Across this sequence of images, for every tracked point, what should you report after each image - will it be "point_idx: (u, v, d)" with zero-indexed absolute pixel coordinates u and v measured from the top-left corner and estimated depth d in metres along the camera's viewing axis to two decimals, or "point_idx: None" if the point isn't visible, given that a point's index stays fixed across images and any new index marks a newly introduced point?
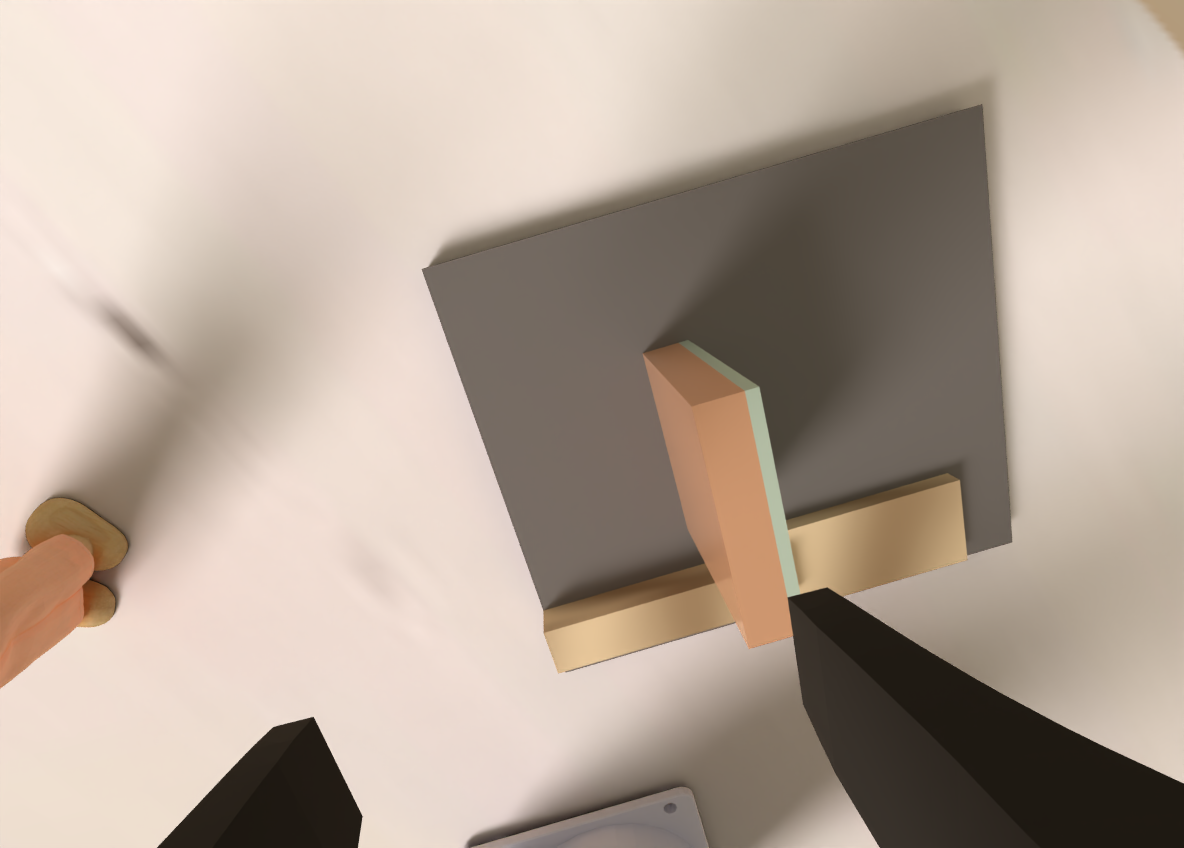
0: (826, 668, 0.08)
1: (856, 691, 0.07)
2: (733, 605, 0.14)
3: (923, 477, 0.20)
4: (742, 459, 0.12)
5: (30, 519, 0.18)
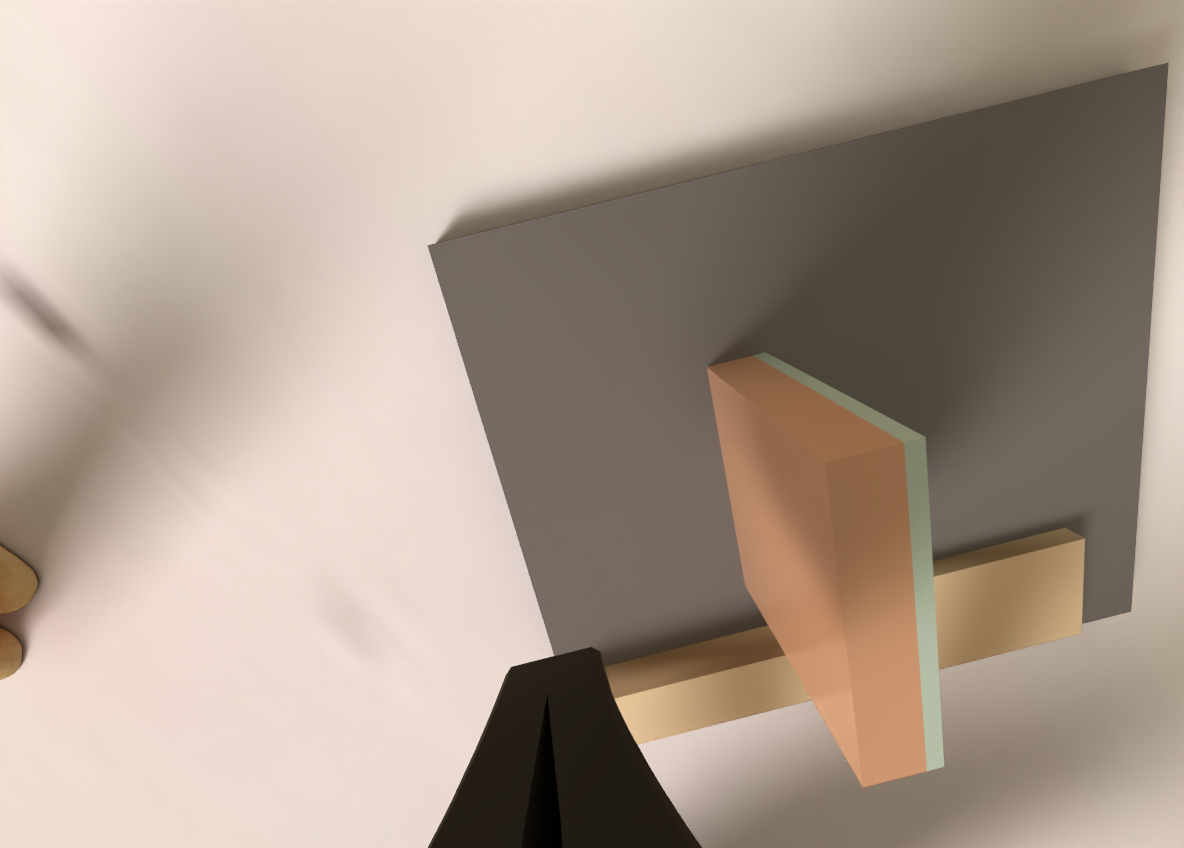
0: None
1: None
2: (838, 721, 0.10)
3: (1036, 532, 0.16)
4: (887, 538, 0.09)
5: None
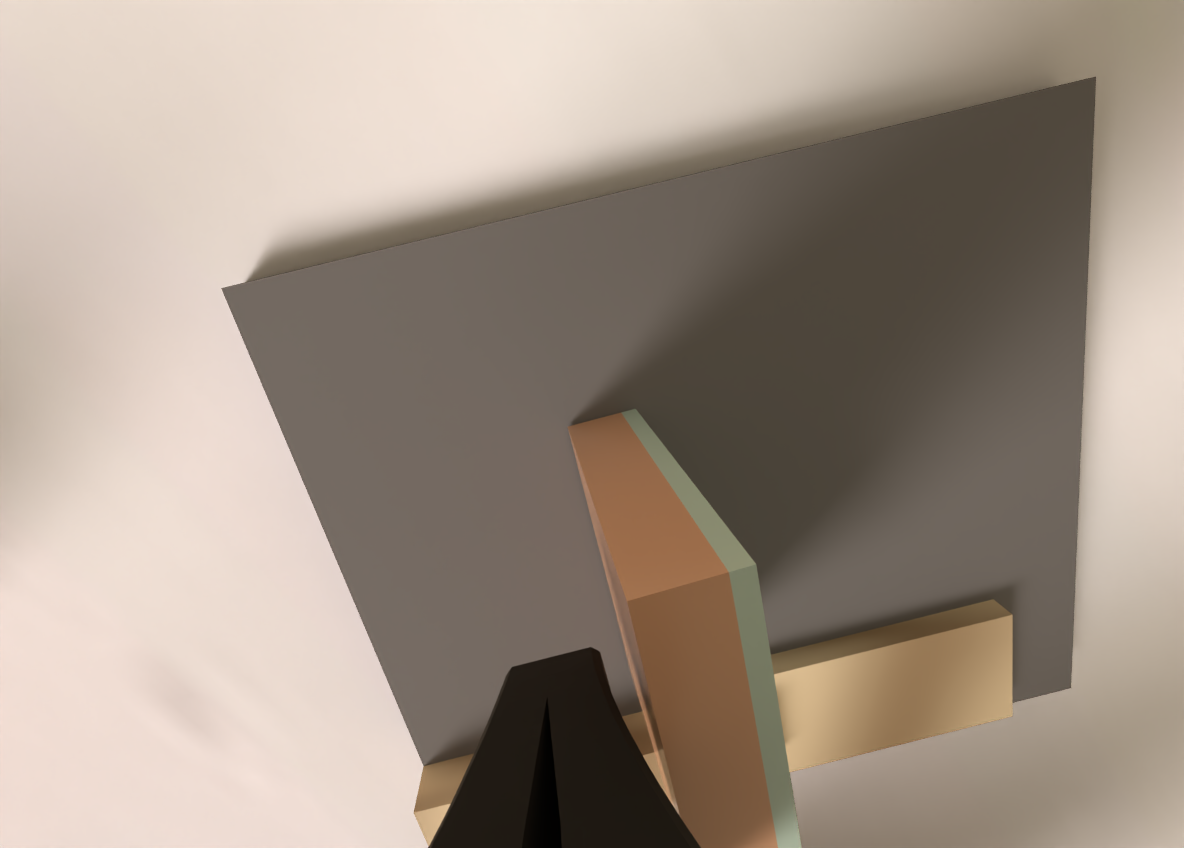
0: None
1: None
2: None
3: (960, 604, 0.14)
4: (719, 687, 0.07)
5: None
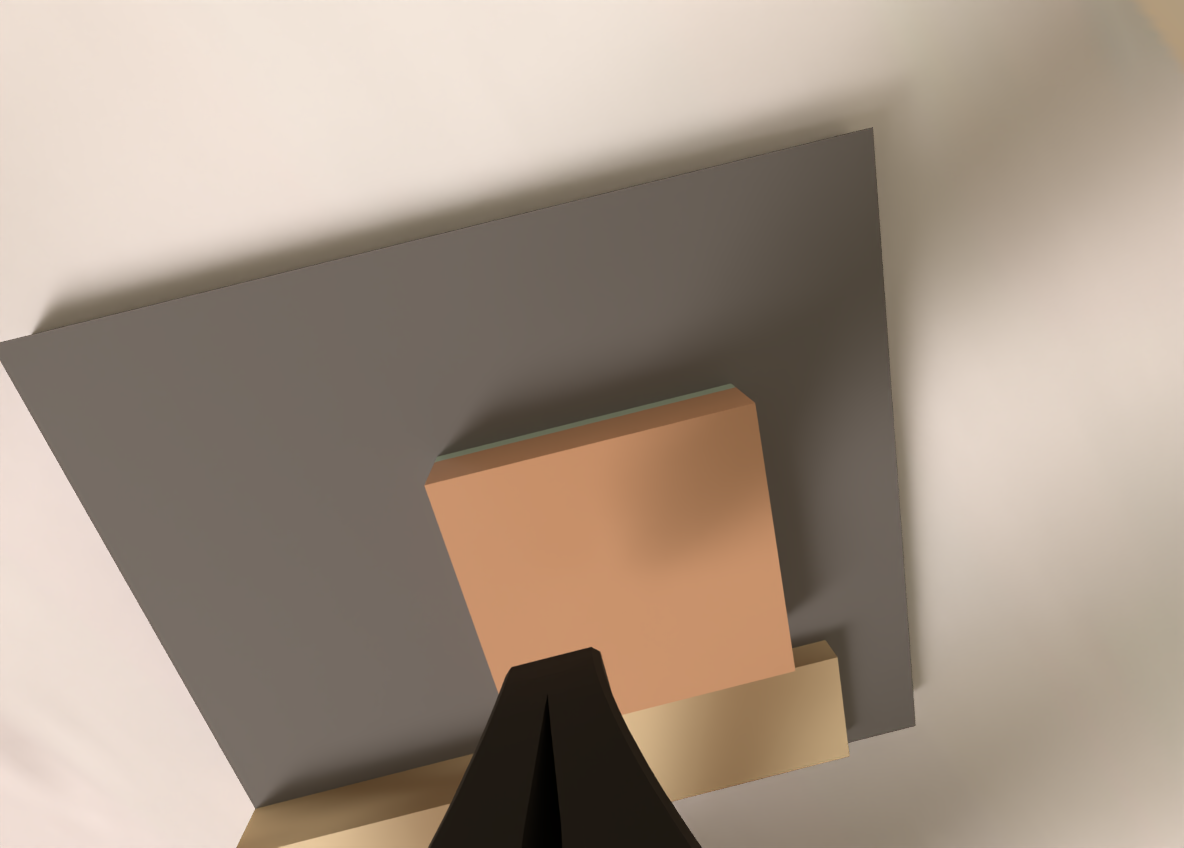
0: None
1: None
2: (756, 653, 0.12)
3: None
4: None
5: None
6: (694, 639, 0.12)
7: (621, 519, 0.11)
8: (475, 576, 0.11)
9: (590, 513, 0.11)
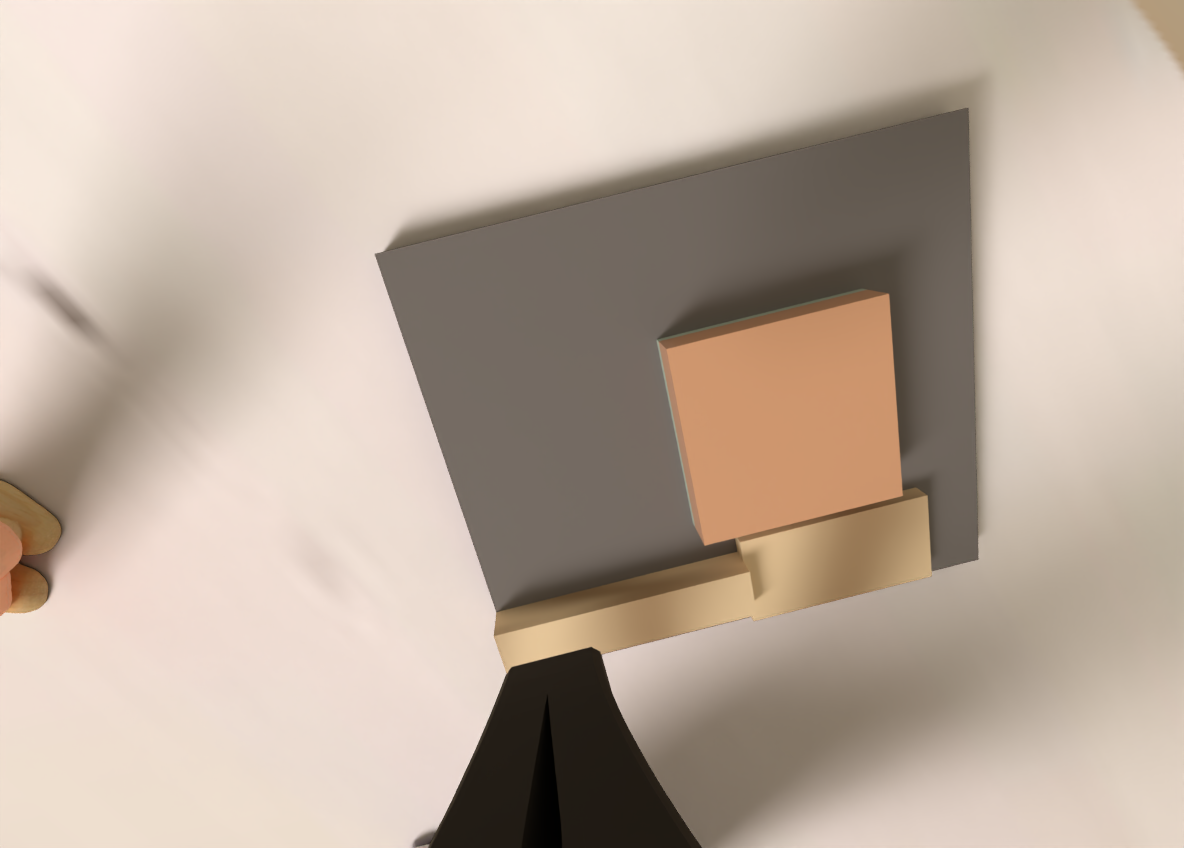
0: None
1: None
2: (876, 481, 0.17)
3: None
4: None
5: None
6: (834, 469, 0.17)
7: (793, 376, 0.16)
8: (692, 416, 0.16)
9: (773, 371, 0.16)
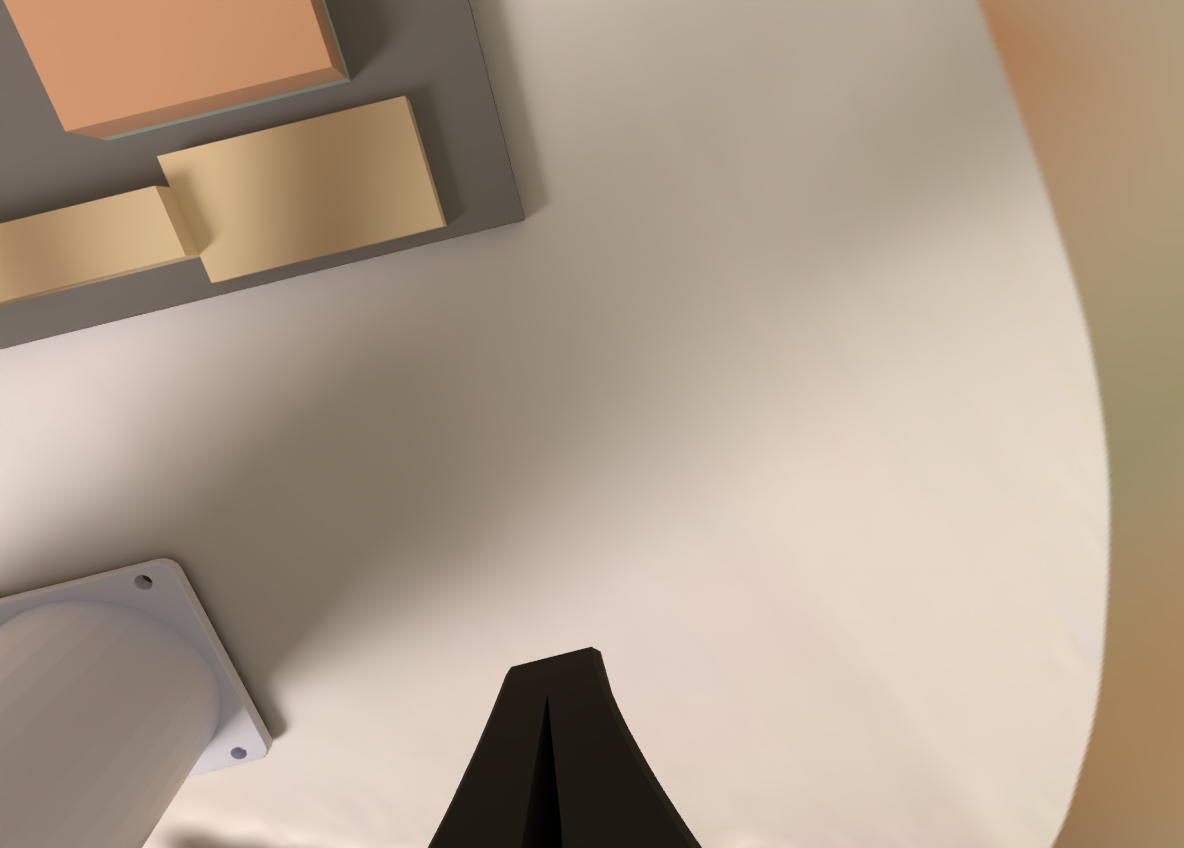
0: None
1: None
2: (287, 39, 0.13)
3: None
4: None
5: None
6: (219, 14, 0.13)
7: None
8: None
9: None
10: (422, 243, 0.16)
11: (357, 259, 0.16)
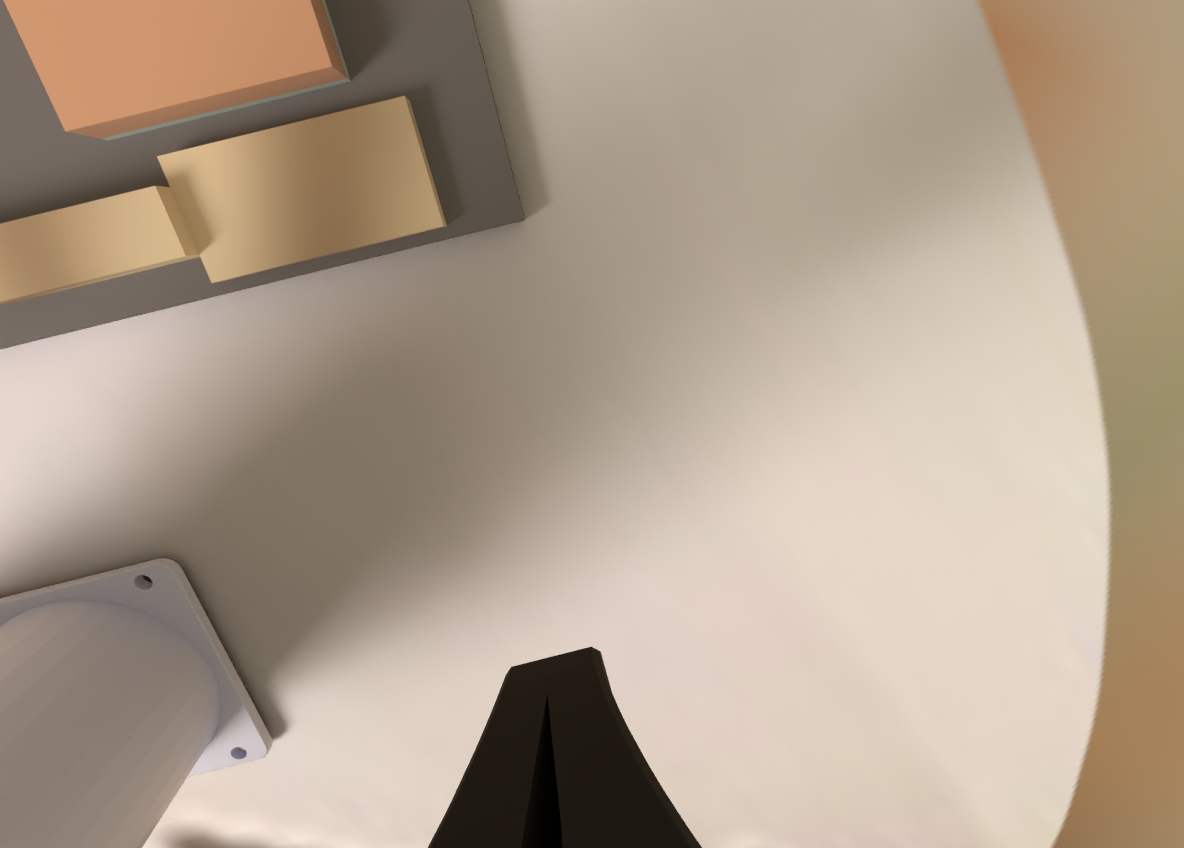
0: None
1: None
2: (287, 39, 0.13)
3: None
4: None
5: None
6: (219, 14, 0.13)
7: None
8: None
9: None
10: (422, 243, 0.16)
11: (357, 259, 0.16)
